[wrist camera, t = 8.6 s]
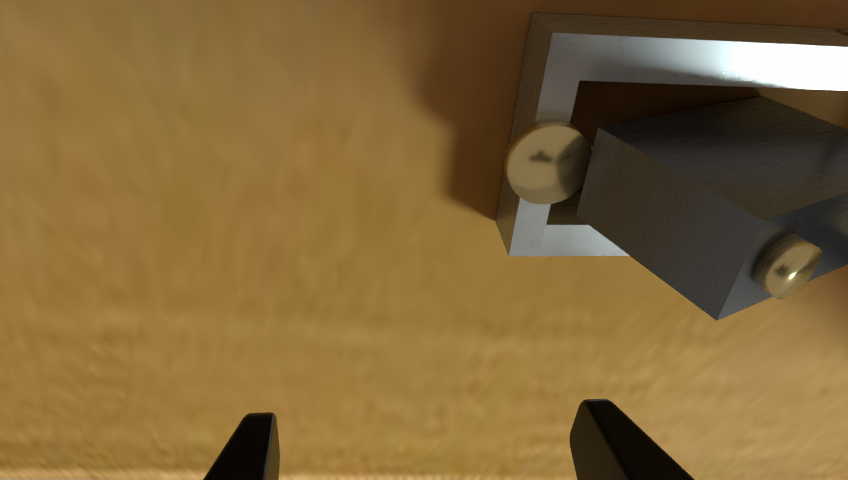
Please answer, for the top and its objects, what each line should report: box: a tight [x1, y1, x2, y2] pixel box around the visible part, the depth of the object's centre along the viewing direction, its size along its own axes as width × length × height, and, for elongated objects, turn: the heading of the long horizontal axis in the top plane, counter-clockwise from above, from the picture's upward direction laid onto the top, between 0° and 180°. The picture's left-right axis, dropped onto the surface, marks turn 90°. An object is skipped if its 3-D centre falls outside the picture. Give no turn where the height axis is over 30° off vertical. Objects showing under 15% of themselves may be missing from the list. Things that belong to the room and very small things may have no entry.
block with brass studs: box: [576, 96, 848, 320], centre depth 16 cm, size 7×3×6 cm, turn 86°
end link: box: [496, 12, 848, 256], centre depth 18 cm, size 10×7×3 cm
